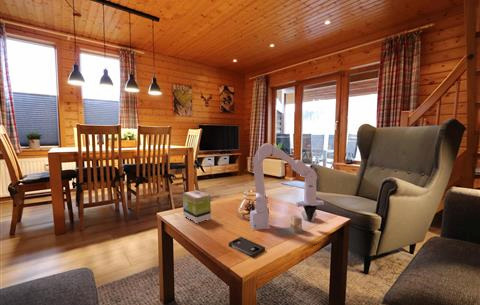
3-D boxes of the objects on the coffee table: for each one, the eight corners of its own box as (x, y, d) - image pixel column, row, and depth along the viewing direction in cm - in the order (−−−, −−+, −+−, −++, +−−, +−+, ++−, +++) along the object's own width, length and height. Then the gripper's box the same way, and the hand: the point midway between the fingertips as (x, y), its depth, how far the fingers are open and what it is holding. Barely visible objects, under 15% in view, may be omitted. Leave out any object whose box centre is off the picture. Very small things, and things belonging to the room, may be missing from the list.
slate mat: (280, 237, 109) (280, 236, 109) (273, 229, 118) (273, 228, 117) (307, 234, 112) (307, 233, 112) (299, 226, 120) (299, 226, 120)
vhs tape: (228, 246, 101) (228, 242, 101) (240, 240, 107) (240, 236, 107) (252, 259, 91) (252, 254, 91) (265, 251, 97) (265, 247, 97)
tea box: (182, 216, 136) (182, 192, 135) (197, 212, 143) (196, 189, 142) (196, 224, 125) (195, 197, 124) (211, 219, 132) (211, 194, 130)
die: (309, 225, 124) (320, 211, 124) (296, 214, 129) (306, 200, 128) (311, 225, 132) (321, 211, 131) (298, 215, 136) (308, 202, 136)
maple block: (293, 232, 113) (294, 218, 112) (290, 229, 117) (290, 215, 116) (301, 231, 114) (302, 218, 113) (298, 228, 118) (298, 215, 117)
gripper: (300, 196, 110) (299, 223, 111) (327, 194, 113) (326, 221, 114) (293, 192, 117) (293, 218, 118) (319, 190, 120) (319, 216, 121)
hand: (309, 219), depth 116 cm, fingers closed
